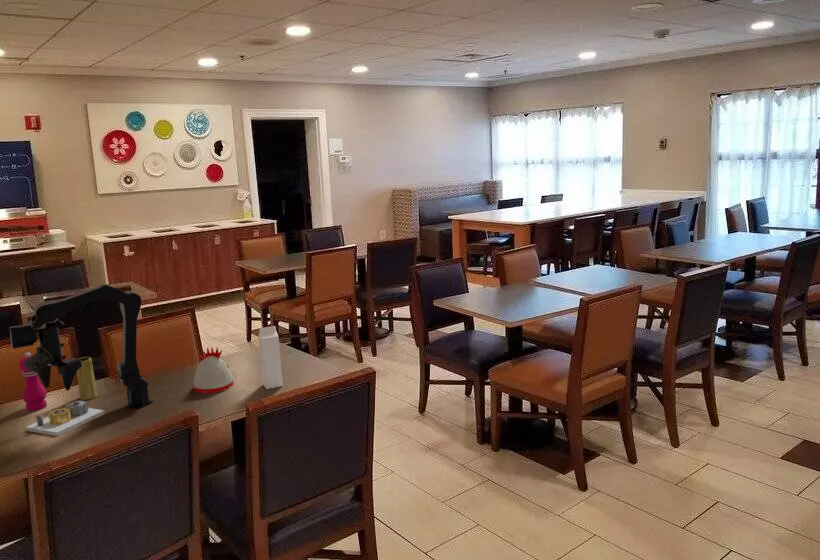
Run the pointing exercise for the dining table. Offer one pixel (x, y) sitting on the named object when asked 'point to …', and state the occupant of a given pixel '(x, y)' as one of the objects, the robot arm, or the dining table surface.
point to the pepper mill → (32, 388)
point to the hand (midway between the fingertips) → (57, 388)
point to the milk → (270, 357)
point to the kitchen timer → (212, 373)
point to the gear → (59, 416)
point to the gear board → (78, 417)
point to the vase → (86, 380)
